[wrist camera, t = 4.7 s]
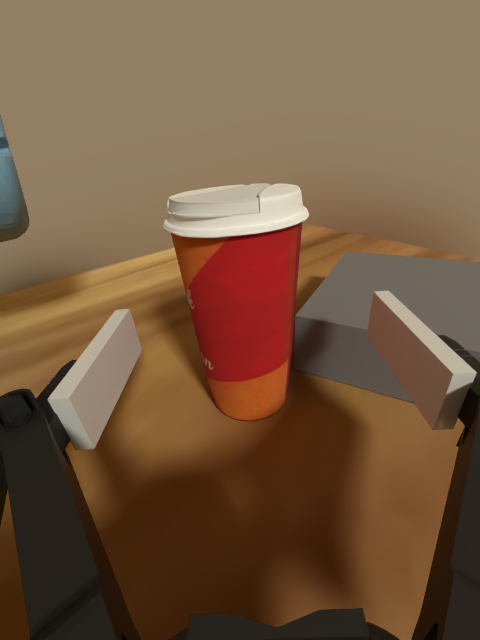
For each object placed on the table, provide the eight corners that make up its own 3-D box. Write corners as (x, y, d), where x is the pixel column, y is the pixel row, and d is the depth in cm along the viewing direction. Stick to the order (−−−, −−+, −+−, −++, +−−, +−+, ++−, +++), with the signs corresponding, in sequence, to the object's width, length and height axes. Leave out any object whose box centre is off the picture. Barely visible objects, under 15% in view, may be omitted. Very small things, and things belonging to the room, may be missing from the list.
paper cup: (232, 352, 27) (213, 183, 20) (315, 375, 23) (328, 179, 16) (176, 412, 21) (121, 204, 14) (275, 455, 17) (269, 205, 10)
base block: (294, 368, 24) (295, 315, 22) (342, 291, 36) (347, 251, 33) (563, 446, 17) (613, 378, 14) (513, 316, 28) (536, 267, 26)
